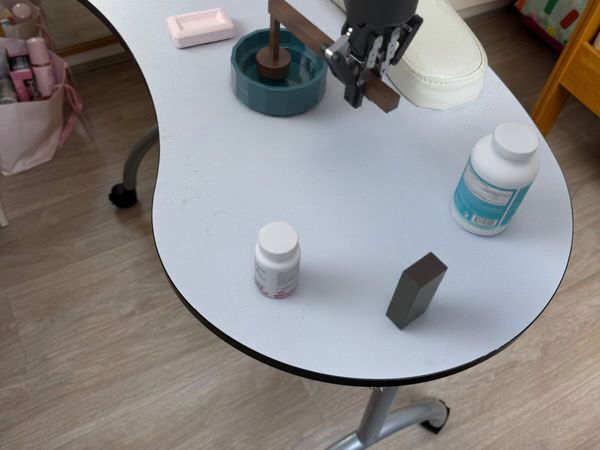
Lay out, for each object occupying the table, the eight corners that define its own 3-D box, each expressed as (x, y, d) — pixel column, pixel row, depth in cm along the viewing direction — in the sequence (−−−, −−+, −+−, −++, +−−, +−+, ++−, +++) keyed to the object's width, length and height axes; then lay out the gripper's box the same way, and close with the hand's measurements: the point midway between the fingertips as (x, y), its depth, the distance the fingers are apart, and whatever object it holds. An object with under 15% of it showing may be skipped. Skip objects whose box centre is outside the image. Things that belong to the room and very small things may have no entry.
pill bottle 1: (300, 266, 66) (306, 222, 60) (293, 302, 64) (298, 261, 57) (259, 258, 67) (260, 214, 60) (250, 294, 64) (250, 252, 57)
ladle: (249, 64, 83) (249, -4, 74) (276, 53, 85) (279, -16, 76) (363, 172, 72) (379, 107, 64) (391, 156, 74) (410, 90, 66)
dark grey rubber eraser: (384, 314, 63) (402, 271, 56) (410, 295, 65) (431, 250, 58) (400, 330, 62) (419, 288, 55) (426, 310, 64) (448, 267, 57)
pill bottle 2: (489, 185, 75) (530, 106, 65) (519, 230, 71) (567, 155, 61) (437, 197, 74) (470, 118, 63) (465, 244, 70) (504, 169, 59)
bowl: (338, 74, 86) (342, 46, 82) (300, 130, 79) (303, 102, 75) (258, 45, 89) (259, 17, 85) (215, 97, 82) (213, 69, 78)
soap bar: (235, 38, 89) (234, 25, 88) (177, 50, 87) (175, 36, 85) (223, 18, 92) (223, 4, 90) (167, 29, 90) (165, 15, 88)
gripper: (360, 5, 52) (336, 142, 66) (465, -40, 57) (422, 96, 71) (307, -36, 55) (295, 104, 69) (411, -74, 60) (381, 62, 74)
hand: (360, 99), depth 70 cm, fingers closed on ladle
